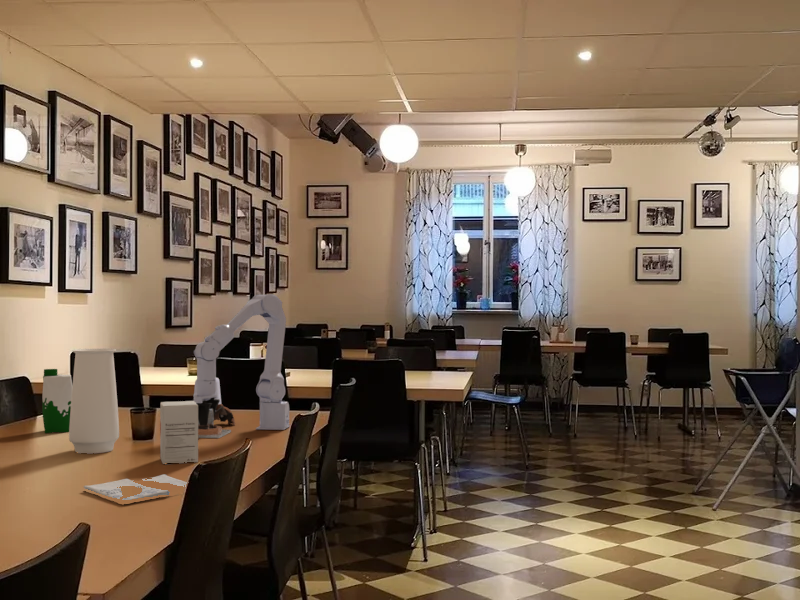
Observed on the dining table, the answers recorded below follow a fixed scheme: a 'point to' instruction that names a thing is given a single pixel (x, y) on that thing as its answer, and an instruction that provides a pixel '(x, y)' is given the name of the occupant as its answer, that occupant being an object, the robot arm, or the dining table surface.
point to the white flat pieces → (114, 492)
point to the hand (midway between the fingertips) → (206, 423)
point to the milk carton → (56, 401)
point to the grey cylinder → (210, 421)
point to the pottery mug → (224, 414)
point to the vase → (94, 402)
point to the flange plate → (212, 432)
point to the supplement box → (178, 432)
